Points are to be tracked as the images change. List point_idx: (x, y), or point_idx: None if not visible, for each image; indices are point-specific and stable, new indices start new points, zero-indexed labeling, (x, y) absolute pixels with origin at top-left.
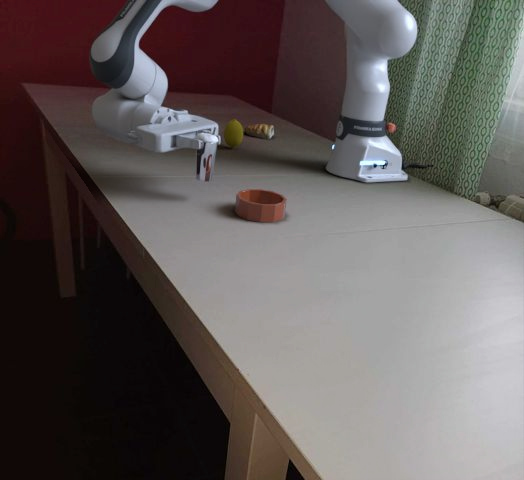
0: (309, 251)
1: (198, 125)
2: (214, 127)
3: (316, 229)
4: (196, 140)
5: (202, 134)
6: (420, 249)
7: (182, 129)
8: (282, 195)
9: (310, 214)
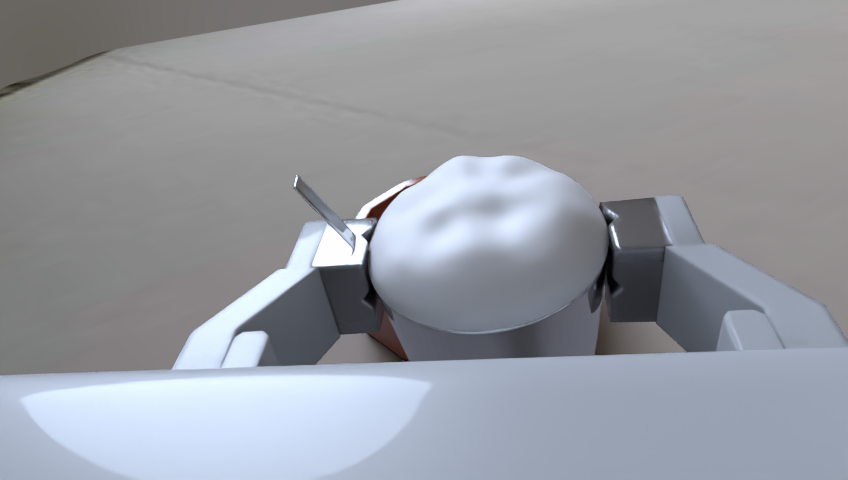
0: (619, 111)
1: (183, 415)
2: (297, 186)
3: (454, 156)
4: (684, 211)
5: (556, 194)
6: (400, 55)
7: (681, 369)
8: (368, 204)
9: (333, 207)
